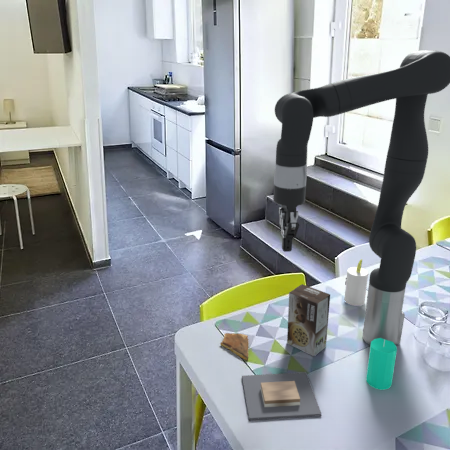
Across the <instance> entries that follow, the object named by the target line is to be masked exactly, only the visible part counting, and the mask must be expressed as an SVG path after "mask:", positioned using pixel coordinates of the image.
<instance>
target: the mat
mask: <svg viewBox="0 0 450 450" xmlns="http://www.w3.org/2000/svg"><path fill="white" fill-rule="evenodd" d="M241 379H242V384H243V385H242V386H243V391H244V396H245V397H244V398H245V402H246V403H245V404H246V410H247V414H248V420H249V421H258V420H260V421H261V420H274V419H275V420H276V419H279V420H280V419H292V418H306V417H307V418H308V417H309V418H310V417H322V412H321V409H320V406H319V404H318V401H317V398H316V395H315V392H314V390H313V387H312V385H311V381H310V379H309V376H308V373H307V371H306V372H304V371H303V372H287V373H286V372H285V373H270V374H267V373H266V374H254V375H253V374H248V375H241ZM283 381H295V384H296V387H297V390H298V393H299V397H300V405H295V406H277V407H264V402H263V397H262V393H261V383H264V382H283Z"/></svg>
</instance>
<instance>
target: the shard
mask: <svg viewBox="0 0 450 450" xmlns="http://www.w3.org/2000/svg"><path fill="white" fill-rule="evenodd" d="M249 345H250V343H249V337H248V335H247V334H243V333H235V332H234V333H228V332H225V333H224V335H223V339H222V341H221V342H220V346H221V347H223V348H226V349H227V350H229V351H231V352H232V353H234V355H236V356H237V357H239V358H241V359H243V360H245V361H249Z"/></svg>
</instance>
